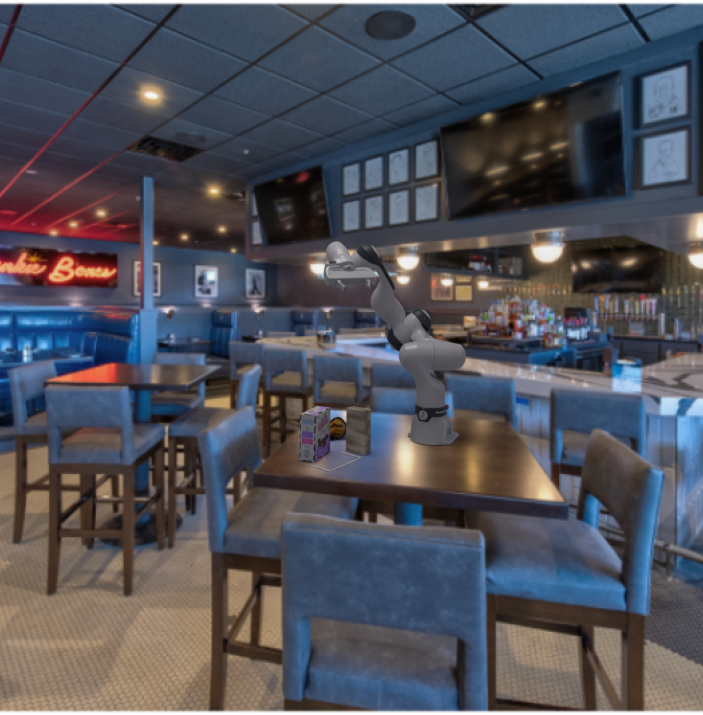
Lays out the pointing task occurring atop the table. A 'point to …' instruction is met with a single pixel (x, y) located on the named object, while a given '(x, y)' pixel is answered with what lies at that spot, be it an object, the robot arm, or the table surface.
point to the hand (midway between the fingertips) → (356, 288)
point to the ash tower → (358, 430)
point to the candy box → (314, 433)
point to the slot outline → (339, 466)
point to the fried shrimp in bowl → (337, 428)
